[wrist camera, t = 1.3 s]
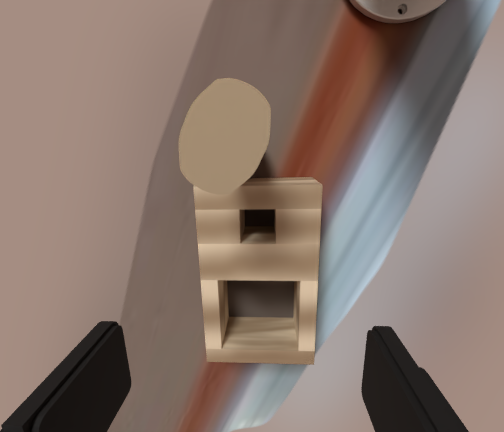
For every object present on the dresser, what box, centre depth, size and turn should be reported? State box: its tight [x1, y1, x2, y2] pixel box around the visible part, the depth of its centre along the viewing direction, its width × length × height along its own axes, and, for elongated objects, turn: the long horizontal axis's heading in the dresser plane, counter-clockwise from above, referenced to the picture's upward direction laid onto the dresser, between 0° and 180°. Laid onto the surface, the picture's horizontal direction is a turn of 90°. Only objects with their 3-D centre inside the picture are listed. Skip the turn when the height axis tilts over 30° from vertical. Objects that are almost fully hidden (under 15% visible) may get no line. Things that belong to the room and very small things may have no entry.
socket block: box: [194, 177, 322, 364], centre depth 30 cm, size 20×12×6 cm, turn 1°
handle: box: [179, 78, 271, 195], centre depth 22 cm, size 5×6×15 cm
